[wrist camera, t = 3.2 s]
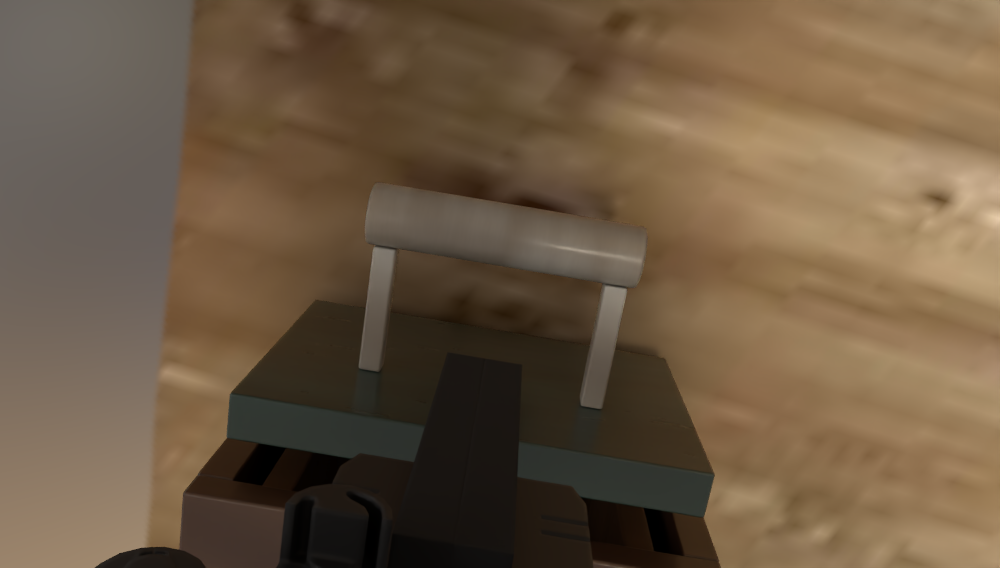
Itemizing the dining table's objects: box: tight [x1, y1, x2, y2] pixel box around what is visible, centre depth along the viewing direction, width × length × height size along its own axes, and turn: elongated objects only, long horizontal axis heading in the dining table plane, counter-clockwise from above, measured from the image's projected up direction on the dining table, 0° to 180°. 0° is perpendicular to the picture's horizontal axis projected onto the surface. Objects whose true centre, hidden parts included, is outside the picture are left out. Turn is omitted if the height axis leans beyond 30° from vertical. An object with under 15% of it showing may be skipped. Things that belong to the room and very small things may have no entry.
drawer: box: [227, 182, 715, 551], centre depth 24 cm, size 19×12×8 cm, turn 171°
